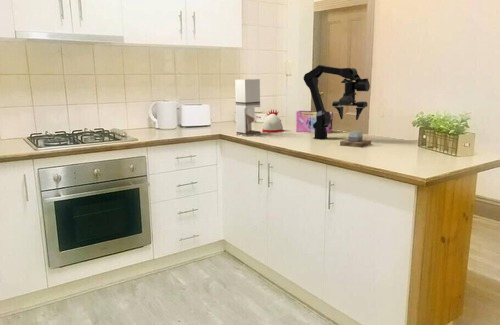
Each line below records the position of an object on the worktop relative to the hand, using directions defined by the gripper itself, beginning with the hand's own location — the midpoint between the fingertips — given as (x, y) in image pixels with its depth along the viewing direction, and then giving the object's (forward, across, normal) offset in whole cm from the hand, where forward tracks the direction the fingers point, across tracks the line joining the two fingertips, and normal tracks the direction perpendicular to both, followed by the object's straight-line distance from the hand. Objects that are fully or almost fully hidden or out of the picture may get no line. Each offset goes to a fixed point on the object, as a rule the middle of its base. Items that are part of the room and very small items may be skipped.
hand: (349, 119), depth 230 cm
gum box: (+12, -36, +23) cm, 45 cm away
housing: (+10, +9, -10) cm, 17 cm away
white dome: (+12, -62, +12) cm, 64 cm away
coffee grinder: (+12, -65, -10) cm, 67 cm away
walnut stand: (+12, +9, -10) cm, 18 cm away
